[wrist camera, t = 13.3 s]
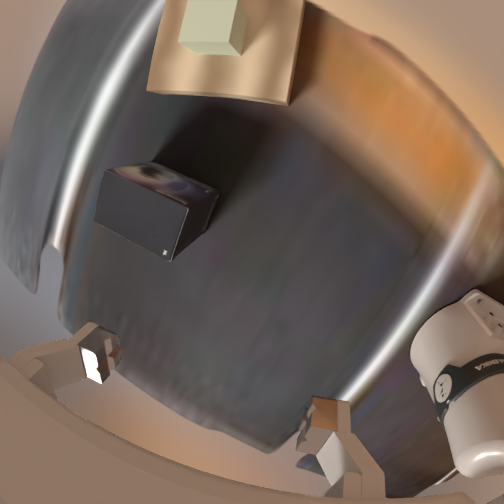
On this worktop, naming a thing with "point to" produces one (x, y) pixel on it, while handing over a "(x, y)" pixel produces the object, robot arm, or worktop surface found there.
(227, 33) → the sage cube
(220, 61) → the birch platform
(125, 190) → the small box
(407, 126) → the worktop surface
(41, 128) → the worktop surface
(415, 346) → the robot arm
